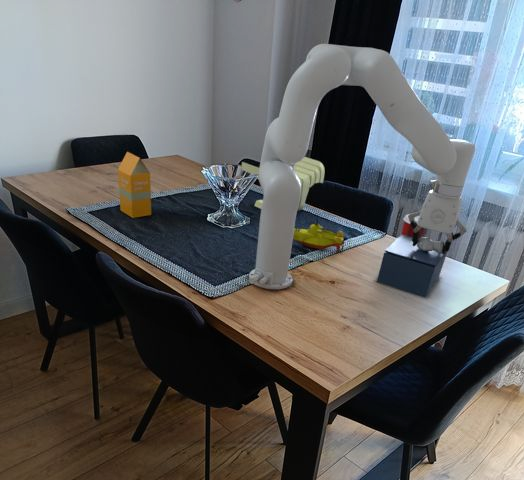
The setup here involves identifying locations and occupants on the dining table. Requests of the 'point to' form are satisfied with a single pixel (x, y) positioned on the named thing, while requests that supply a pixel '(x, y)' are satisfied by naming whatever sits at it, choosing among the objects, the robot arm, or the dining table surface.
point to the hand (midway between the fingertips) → (429, 248)
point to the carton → (411, 271)
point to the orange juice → (134, 187)
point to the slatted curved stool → (306, 172)
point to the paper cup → (410, 227)
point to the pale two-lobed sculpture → (430, 245)
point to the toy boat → (319, 237)
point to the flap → (402, 247)
